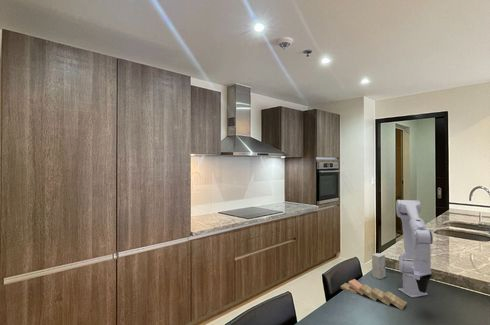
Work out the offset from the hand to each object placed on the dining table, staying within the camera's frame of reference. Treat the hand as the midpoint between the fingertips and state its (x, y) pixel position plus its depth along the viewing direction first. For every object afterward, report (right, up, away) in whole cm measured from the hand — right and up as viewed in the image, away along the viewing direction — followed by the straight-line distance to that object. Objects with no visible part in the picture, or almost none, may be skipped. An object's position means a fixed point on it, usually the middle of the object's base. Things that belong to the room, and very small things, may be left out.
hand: (422, 291), depth 111 cm
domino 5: (-5, -9, +5) cm, 11 cm away
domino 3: (-12, -9, +12) cm, 19 cm away
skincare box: (0, -9, +36) cm, 37 cm away
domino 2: (-16, -9, +17) cm, 25 cm away
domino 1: (-18, -9, +19) cm, 28 cm away
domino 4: (-8, -9, +8) cm, 15 cm away
